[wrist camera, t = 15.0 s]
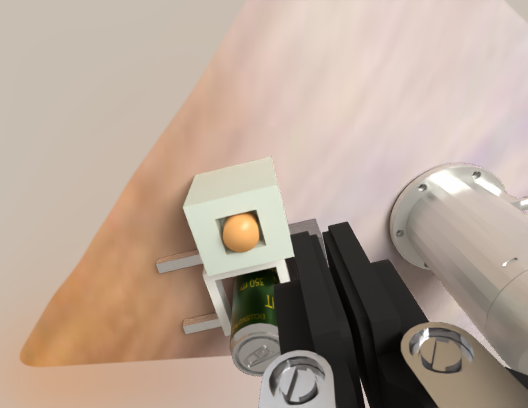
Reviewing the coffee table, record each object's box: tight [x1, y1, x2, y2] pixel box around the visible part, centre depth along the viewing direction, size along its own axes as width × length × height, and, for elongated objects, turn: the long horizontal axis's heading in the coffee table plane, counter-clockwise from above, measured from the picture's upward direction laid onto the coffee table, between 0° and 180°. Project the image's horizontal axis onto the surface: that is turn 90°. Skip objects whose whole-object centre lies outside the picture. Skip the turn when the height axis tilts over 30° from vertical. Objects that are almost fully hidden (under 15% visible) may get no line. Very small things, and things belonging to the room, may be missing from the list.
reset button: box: [223, 211, 259, 252], centre depth 32 cm, size 3×3×2 cm
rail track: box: [156, 219, 328, 334], centre depth 41 cm, size 18×11×4 cm, turn 104°
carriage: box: [202, 259, 291, 337], centre depth 41 cm, size 8×11×2 cm
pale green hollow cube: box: [183, 156, 295, 276], centre depth 35 cm, size 8×8×8 cm
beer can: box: [230, 267, 281, 376], centre depth 38 cm, size 5×5×12 cm
